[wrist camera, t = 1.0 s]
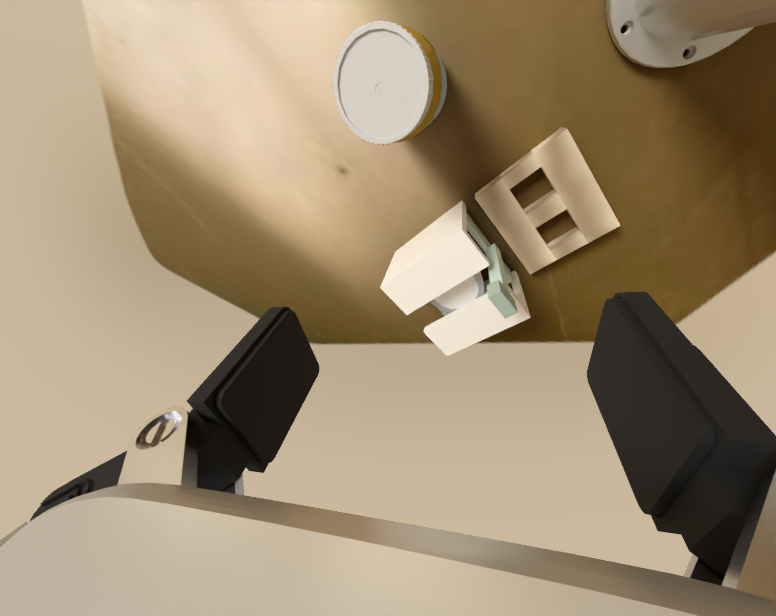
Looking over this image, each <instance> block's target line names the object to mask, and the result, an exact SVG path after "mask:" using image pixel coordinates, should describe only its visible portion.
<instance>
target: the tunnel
mask: <svg viewBox="0 0 776 616" xmlns="http://www.w3.org/2000/svg"><path fill="white" fill-rule="evenodd" d="M489 265H490V263H489V260H488V259H487V257H486V256H485V255H484V253H483V252H482V251H481V250H480V248H479V247H478V246H477V244H476V243H475V242H474V240H473V239H472V238H471V237H470V235H469V234H468V233H467V219H466V204H465V203H464V202H463V200H462V201H460V202H459V203H458V204H457V205H455V206H454V207H453V208H451V209H450V210H449V211H447V212H446V213H445V214H444V215H442V216H441V217H440V218H438V219H437V220H436V221H435V222H433V223H432V224H431V225H429V226H428V227H427V228H426V229H424V230H423V231H422V232H420V233H419V234H418V235H416V236H415V237H414V238H413V239H411V240H410V241H409V242H407V243H406V244H405V245H404V246H402V247H401V248H400V249H398V250H397V251H396V252H395V254H394V256H393V258H392V261H391V263H390V266H389V268H388V270H387V273H386V275H385V277H384V280H383V282H382V284H381V287H380V288H381V289H382V290H383V291H384V292H385V293H386V294H387V295H388V296H389V297H390V298H391V299H392V300H393V301H394V302H395V304H396V305H397V306H398V307H399V308H400V309H401V310H402V311H403V312H404V313H405V314H406V315H408V314H410V313H411V312H413V311H415V310H416V309H418V308H420V307H421V306H423V305H425V304H426V303H428V302H430V301H431V300H433V299H434V298H436V297H438V296H439V295H441V294H443V293H444V292H446V291H448V290H449V289H451V288H453V287H454V286H456V285H458V284H459V283H461V282H463V281H464V280H466V279H468V278H469V277H471V276H473V275H474V274H476V273H478V272H479V271H481V270H483V269H484V268H486V267H488V266H489ZM511 275H512V278H513V282H511V283H512V287H513V291H514V292H513V291H512V290H511V288H510V287H509V286H508V287H509V292H510V295H511V296H512V297H513V299H514V300H515V303H516V307H517V312H518V313H516V314H514V315H512V316H510V317H508V318H506V319H505V318H504V317H503V315H502V314H501V313H500V312H499V311H498V309H497V308H496V307H495V306H494V305H493V303H492V302H491V301H490V300H489V298H488V294H487V293H486V294H484V295H483V296H481V297H479V298H477V299H475V300H473V301H472V302H470V303H468V304H466V305H464V306H463V307H461V308H459V309H457V310H455V311H453V312H452V313H450V314H448V315H446V316H444V317H442V318H441V319H439V320H437V321H435V322H433V323H432V324H430V325H428V326H426V327H425V328H424V333H425V334H426V335H427V336H428V337H429V338H430V339H431V340H432V341H433V342H434V343H435V344H436V345H437V346H438V347H439V348H440V349H441V350H442V351H443V353H444V354H446V356H449V355H451V354H453V353H455V352H457V351H459V350H462V349H464V348H466V347H468V346H470V345H472V344H475V343H477V342H479V341H481V340H483V339H485V338H488V337H490V336H492V335H494V334H496V333H499V332H501V331H503V330H505V329H507V328H509V327H512V326H514V325H516V324H518V323H520V322H522V321H525V320H527V319H529V318H531V317H530V314H529V310H528V307H527V304H526V300H525V297H524V294H523V290H522V287H521V283H520V280H519V277H518V274H517V273H516V271H515V270H514V271H512V272H511Z"/></svg>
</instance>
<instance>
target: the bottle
mask: <svg viewBox="0 0 776 616" xmlns="http://www.w3.org/2000/svg"><path fill="white" fill-rule="evenodd" d="M333 90H334V97H335V101H336V105H337V108H338V110H339V113H340V115H341V117H342V119H343V120H344V122H345V123H346V125H347V126H348V127H349V128H350V130H351V131H352V132H353V133H355V134H356V135H357V136H358V137H359V138H362V139H363V140H365V141H368V142H369V143H370V142H371V143H373V144H378V145H379V144H382V145H384V144H390V143H396V142H402V141H406V140H409V139H411V138H413V137H415V136H416V135H418V134H419V133H421V132H422V131H423V130H424V129H425V128H426V127H427V126H428V125H429V124H430V123H431V122H432V121H433V120H434V119H435V118H436V117H437V115H438V114H439V112H440V111H441V108H442V106H443V104H444V101H445V98H446V92H447V77H446V71H445V68H444V65H443V63H442V60H441V59H440V57H439V56H438V54H437V53H436V51H435V50H434V49H433V47H432V46H431V45H430V43H429V42H428V41H427V40H426V39H425V37H424V36H423V35H421V34H420V33H418V32H417V31H415V30H413V29H411V28H409V27H407V26H401V25H397V24H396V23H393V24H392V23H391V22H390V21H388V22H385V21H376V22H370V23H368V24H365V25H363V26H361V27H359V28H358V29H357V30H355V31H354V32H353V33H352V34H351V35H350V36H349V37H348V38H347V40H346V41H345V42H344V44H343V46H342V47H341V49H340V51H339V54H338V56H337V59H336V63H335V67H334V74H333Z"/></svg>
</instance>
